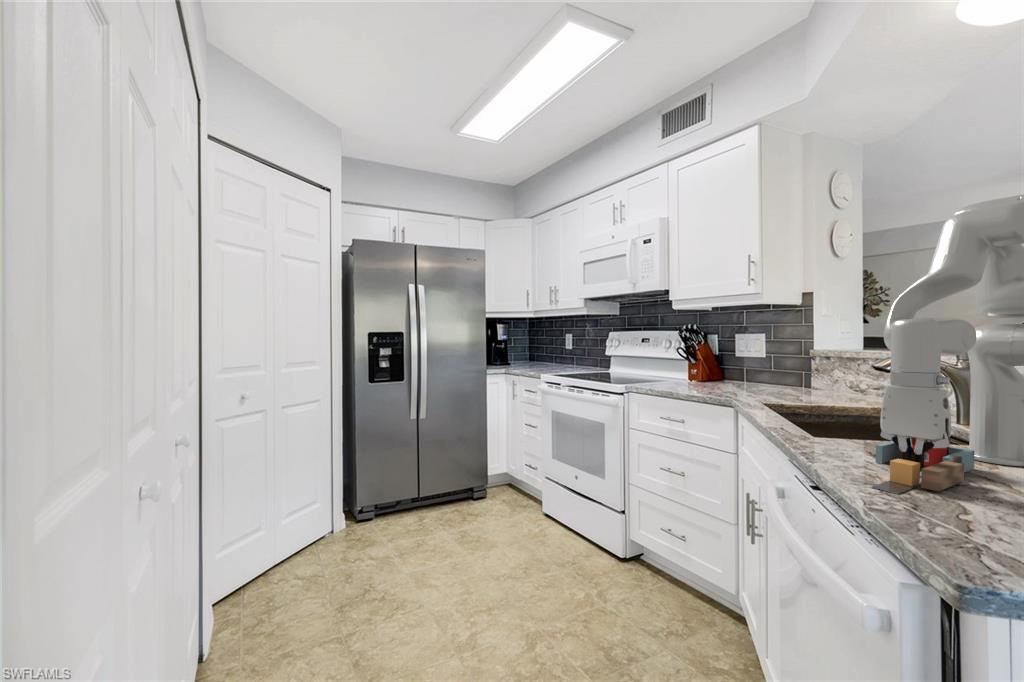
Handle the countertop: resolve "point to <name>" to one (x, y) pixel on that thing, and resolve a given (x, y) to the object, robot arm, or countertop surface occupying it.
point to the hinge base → (963, 483)
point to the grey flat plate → (894, 487)
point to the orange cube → (905, 472)
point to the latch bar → (943, 474)
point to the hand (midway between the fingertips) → (912, 471)
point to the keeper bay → (892, 452)
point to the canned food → (933, 454)
